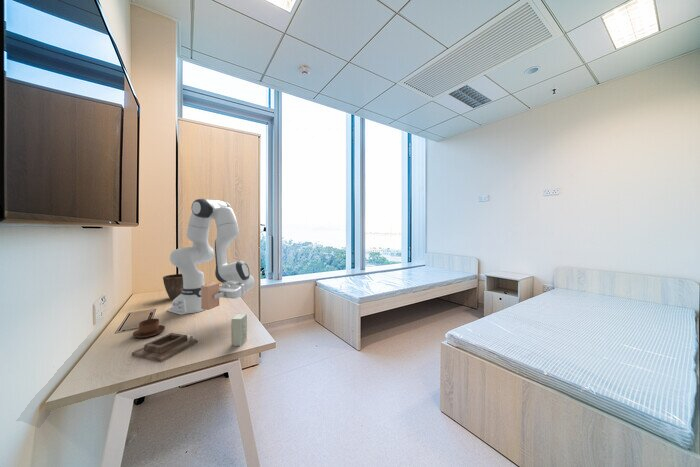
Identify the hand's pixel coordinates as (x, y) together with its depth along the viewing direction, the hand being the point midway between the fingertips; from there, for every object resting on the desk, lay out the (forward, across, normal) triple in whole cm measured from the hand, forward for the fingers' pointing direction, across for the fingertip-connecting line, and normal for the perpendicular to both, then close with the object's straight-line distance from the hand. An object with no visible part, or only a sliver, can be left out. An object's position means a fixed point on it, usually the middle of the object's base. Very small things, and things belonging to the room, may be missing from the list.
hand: (208, 296), depth 115 cm
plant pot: (-40, -69, +19) cm, 82 cm away
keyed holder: (+15, -7, +19) cm, 25 cm away
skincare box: (+2, +19, +19) cm, 27 cm away
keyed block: (-1, 0, +6) cm, 6 cm away
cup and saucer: (+7, -29, +19) cm, 35 cm away
